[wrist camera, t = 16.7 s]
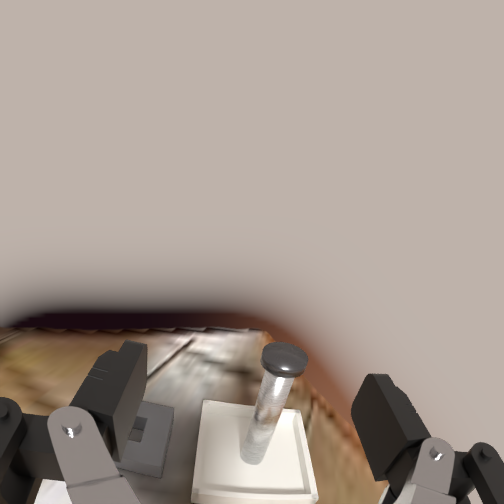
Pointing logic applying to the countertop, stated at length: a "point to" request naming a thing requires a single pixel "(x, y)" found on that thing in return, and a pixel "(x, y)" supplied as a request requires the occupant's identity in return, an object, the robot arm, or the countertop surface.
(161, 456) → the block
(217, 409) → the tray
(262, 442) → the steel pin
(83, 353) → the countertop surface
